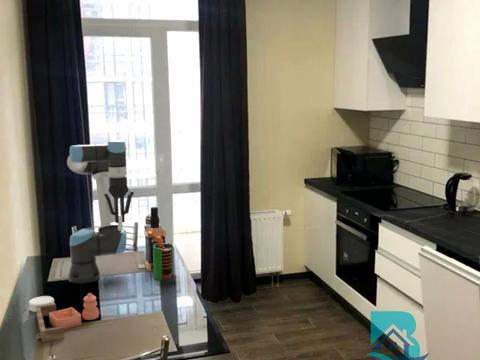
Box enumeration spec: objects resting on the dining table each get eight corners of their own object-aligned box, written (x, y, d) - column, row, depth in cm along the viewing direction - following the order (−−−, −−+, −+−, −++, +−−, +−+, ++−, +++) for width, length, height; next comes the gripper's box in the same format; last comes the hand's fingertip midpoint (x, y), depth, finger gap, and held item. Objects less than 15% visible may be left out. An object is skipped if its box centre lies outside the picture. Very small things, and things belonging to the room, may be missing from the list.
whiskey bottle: (144, 266, 271) (142, 206, 267) (163, 264, 275) (161, 204, 271) (149, 272, 262) (147, 209, 257) (168, 269, 266) (166, 208, 261)
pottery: (57, 331, 194) (56, 306, 193) (49, 323, 202) (48, 299, 200) (103, 319, 205) (102, 295, 204) (94, 311, 212) (92, 288, 211)
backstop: (36, 316, 208) (35, 306, 207) (56, 312, 211) (55, 303, 211) (42, 342, 185) (41, 331, 184) (64, 338, 188) (63, 327, 187)
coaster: (57, 303, 222) (57, 295, 222) (49, 312, 212) (49, 304, 212) (34, 303, 222) (33, 295, 221) (25, 312, 212) (24, 304, 212)
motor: (168, 280, 249) (166, 240, 246) (150, 279, 251) (149, 239, 248) (175, 274, 259) (173, 234, 256) (158, 273, 260) (156, 234, 258)
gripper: (104, 178, 218) (106, 233, 221) (135, 176, 223) (137, 230, 227) (100, 176, 225) (103, 229, 228) (130, 174, 230) (132, 226, 233)
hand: (120, 229), depth 227 cm, fingers closed
